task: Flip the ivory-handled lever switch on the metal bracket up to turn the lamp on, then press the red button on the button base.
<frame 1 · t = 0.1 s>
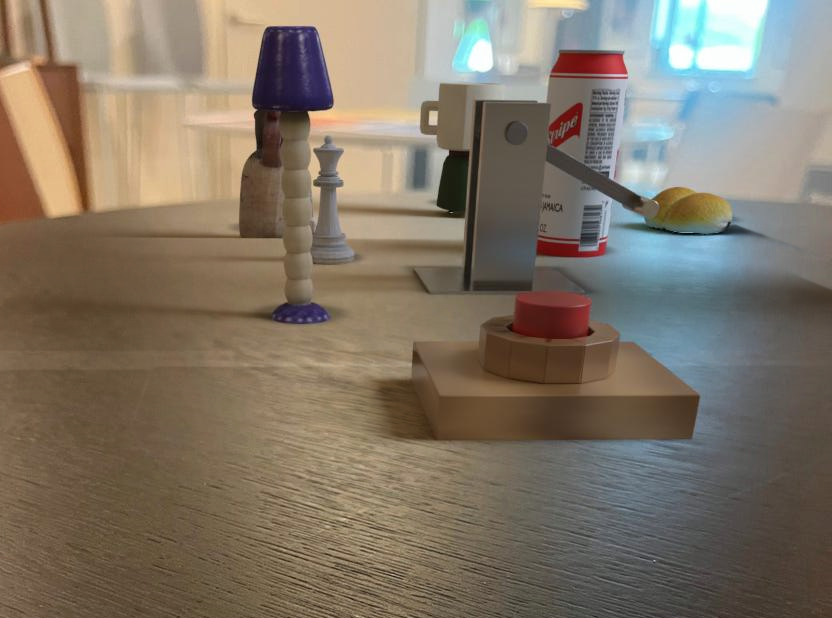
character mug: (463, 216, 115), on the table
switch bracket: (494, 295, 76), on the table
toy lamp: (296, 337, 64), on the table
timer button: (551, 317, 49), point 5 cm above the table, slide at 0.2 cm
figurine: (277, 243, 96), on the table
bread roll: (684, 231, 108), on the table
chess piece: (327, 275, 83), on the table
switch lever: (570, 165, 72), point 9 cm above the table, hinge at -25.0°
beer can: (566, 265, 88), on the table
button base: (540, 409, 51), on the table
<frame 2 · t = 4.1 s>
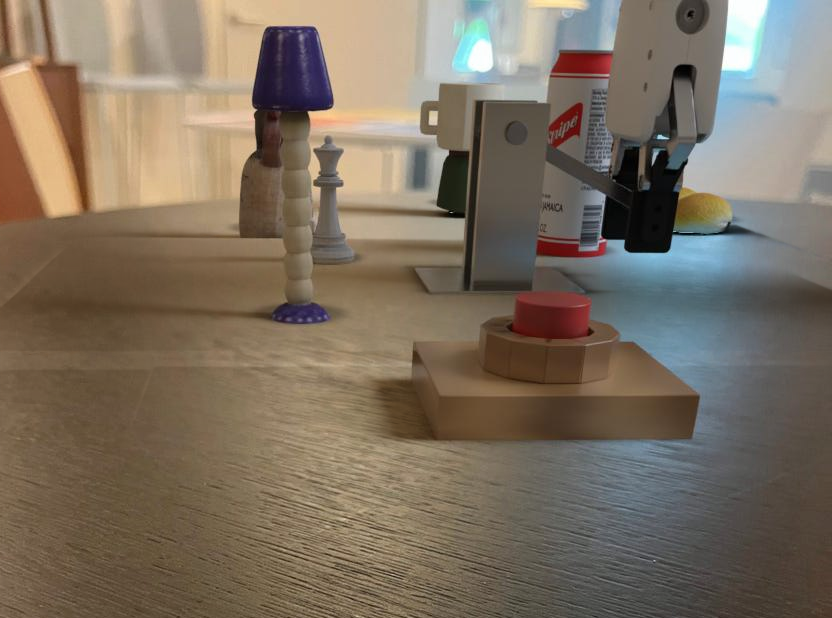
hand: (634, 242, 74), 4 cm above the table, tool pointing down, fingers closed on switch lever, 5 cm apart
switch lever: (570, 165, 72), point 9 cm above the table, hinge at -25.0°, touching gripper
everything else where it was.
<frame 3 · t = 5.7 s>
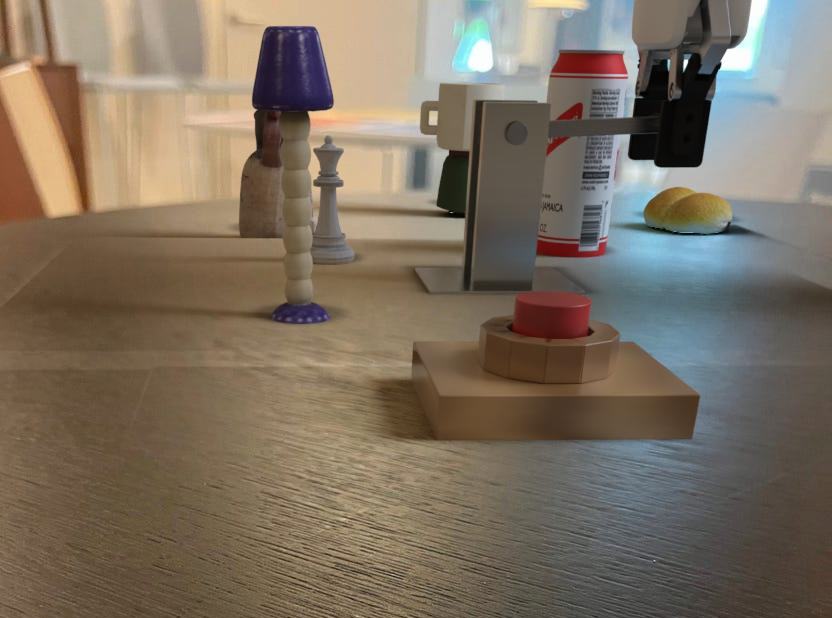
hand: (663, 160, 72), 9 cm above the table, tool pointing down, fingers closed on switch lever, 5 cm apart
switch lever: (581, 127, 70), point 11 cm above the table, hinge at 2.9°, touching gripper
everything else where it was.
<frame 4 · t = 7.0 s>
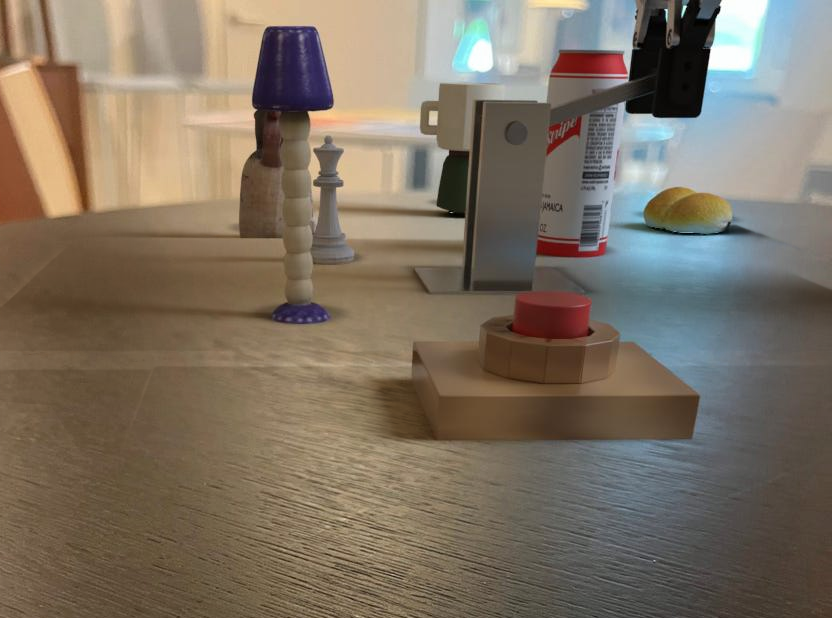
hand: (661, 112, 70), 12 cm above the table, tool pointing down, fingers open, 5 cm apart
switch lever: (580, 106, 70), point 13 cm above the table, hinge at 17.5°
everything else where it was.
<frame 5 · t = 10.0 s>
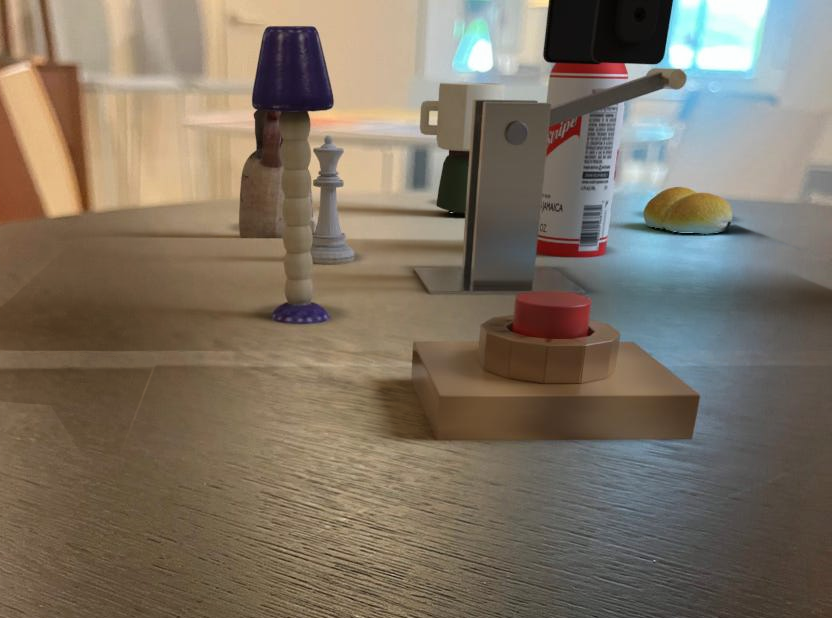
hand: (597, 63, 49), 15 cm above the table, tool pointing down, fingers open, 9 cm apart
nothing on the table moved.
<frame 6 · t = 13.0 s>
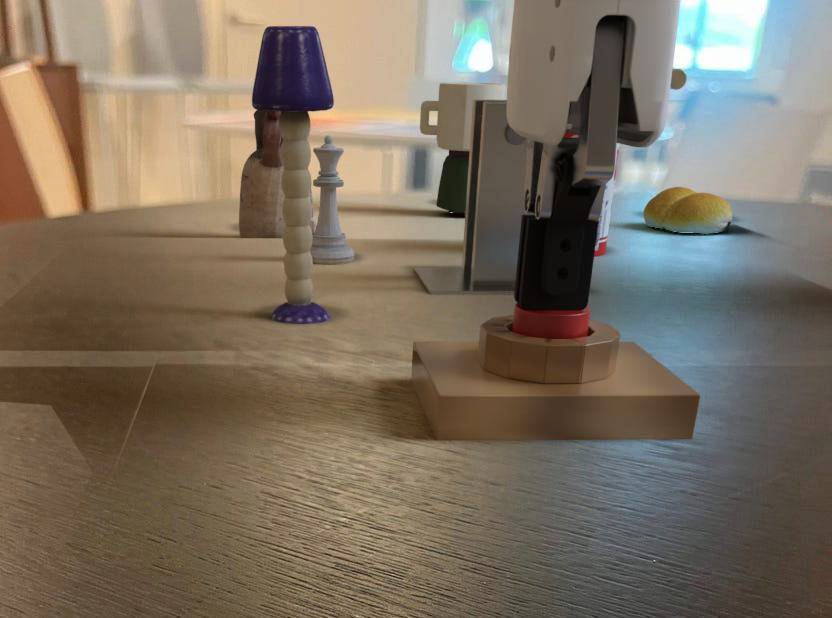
hand: (549, 306, 49), 5 cm above the table, tool pointing down, fingers closed
timer button: (550, 325, 49), point 4 cm above the table, slide at -0.2 cm, touching gripper
everything else where it was.
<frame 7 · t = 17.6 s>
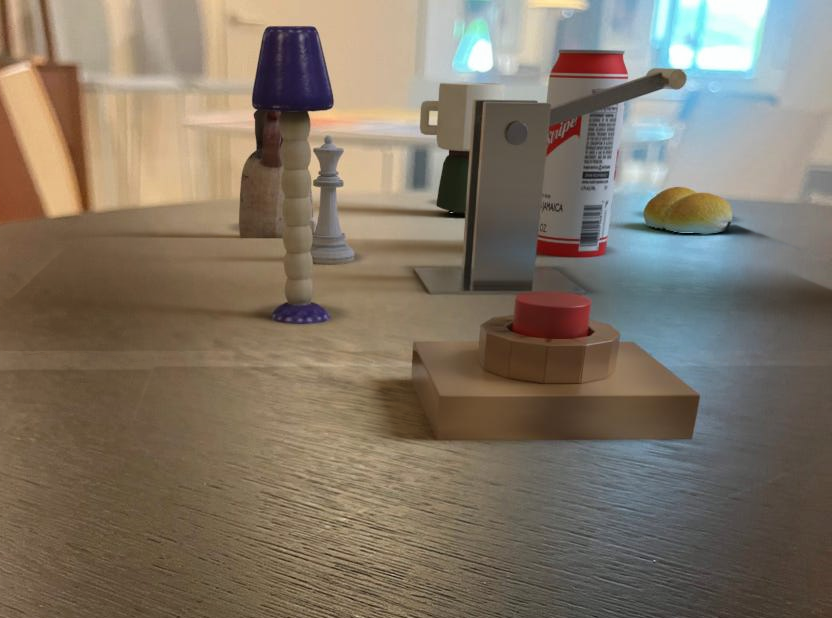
timer button: (551, 317, 49), point 5 cm above the table, slide at 0.1 cm
everything else where it was.
at the end: switch lever at +18° (first picture: -25°); timer button pushed in 1.1 cm at the most during the clip, back to where it started at the end; timer button slide at 0.1 cm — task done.
